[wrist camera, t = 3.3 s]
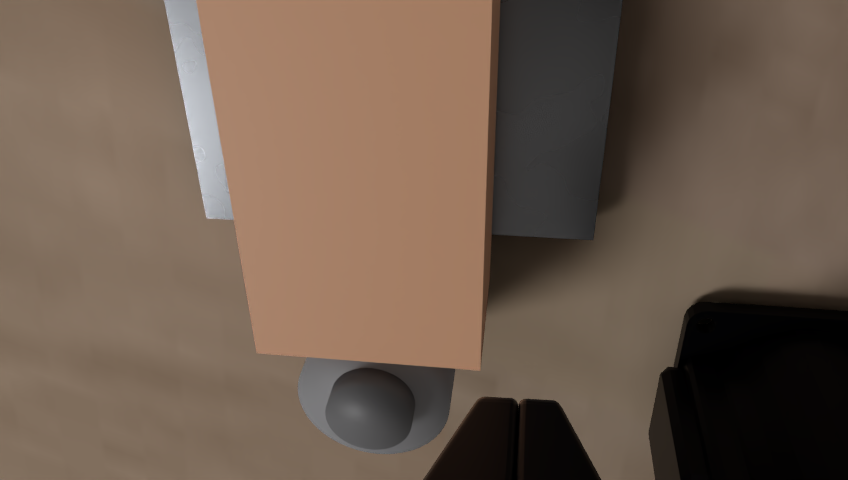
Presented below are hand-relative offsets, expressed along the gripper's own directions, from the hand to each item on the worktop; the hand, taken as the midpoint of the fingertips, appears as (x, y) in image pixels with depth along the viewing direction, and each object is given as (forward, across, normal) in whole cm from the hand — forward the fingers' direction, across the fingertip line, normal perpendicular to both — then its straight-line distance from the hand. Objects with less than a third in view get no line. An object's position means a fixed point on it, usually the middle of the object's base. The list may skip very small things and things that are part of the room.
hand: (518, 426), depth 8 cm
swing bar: (+11, +3, 0) cm, 12 cm away
